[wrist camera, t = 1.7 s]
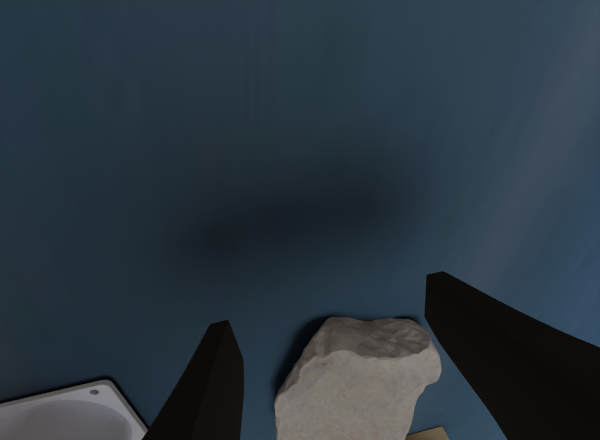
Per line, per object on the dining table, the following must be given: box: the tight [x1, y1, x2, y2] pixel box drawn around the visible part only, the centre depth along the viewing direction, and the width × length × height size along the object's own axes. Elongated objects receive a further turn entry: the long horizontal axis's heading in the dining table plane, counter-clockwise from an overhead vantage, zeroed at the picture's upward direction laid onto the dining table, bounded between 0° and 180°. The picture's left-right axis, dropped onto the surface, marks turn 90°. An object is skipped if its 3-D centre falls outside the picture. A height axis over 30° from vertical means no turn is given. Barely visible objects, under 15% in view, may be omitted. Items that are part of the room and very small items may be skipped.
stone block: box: [274, 317, 442, 440], centre depth 20 cm, size 12×5×10 cm
